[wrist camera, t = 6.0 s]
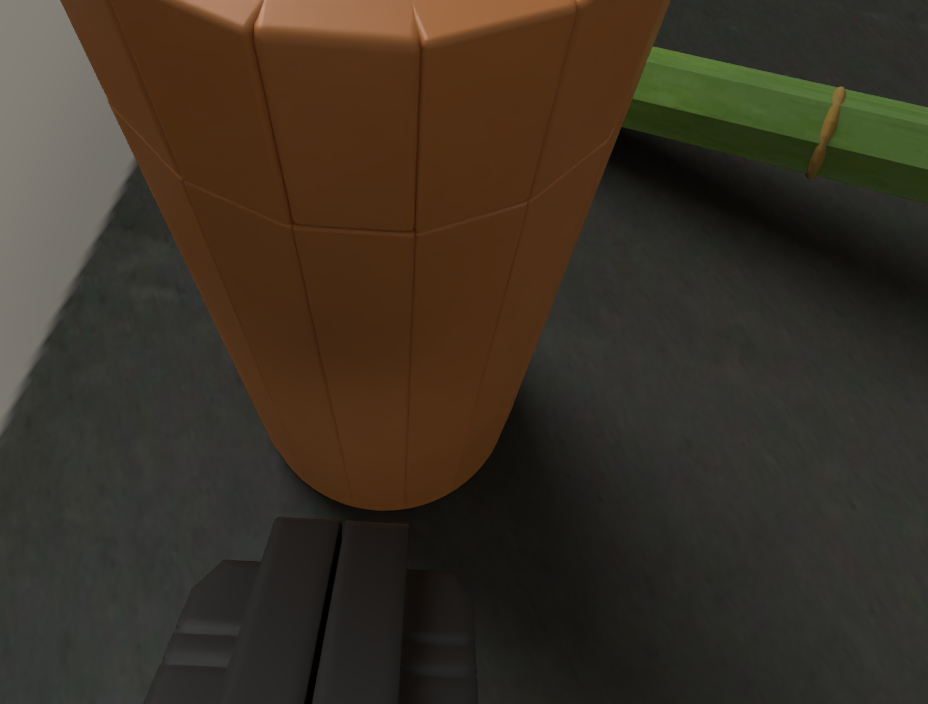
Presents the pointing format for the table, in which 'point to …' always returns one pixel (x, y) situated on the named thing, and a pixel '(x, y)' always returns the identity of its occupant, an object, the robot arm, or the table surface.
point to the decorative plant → (784, 122)
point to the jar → (374, 203)
